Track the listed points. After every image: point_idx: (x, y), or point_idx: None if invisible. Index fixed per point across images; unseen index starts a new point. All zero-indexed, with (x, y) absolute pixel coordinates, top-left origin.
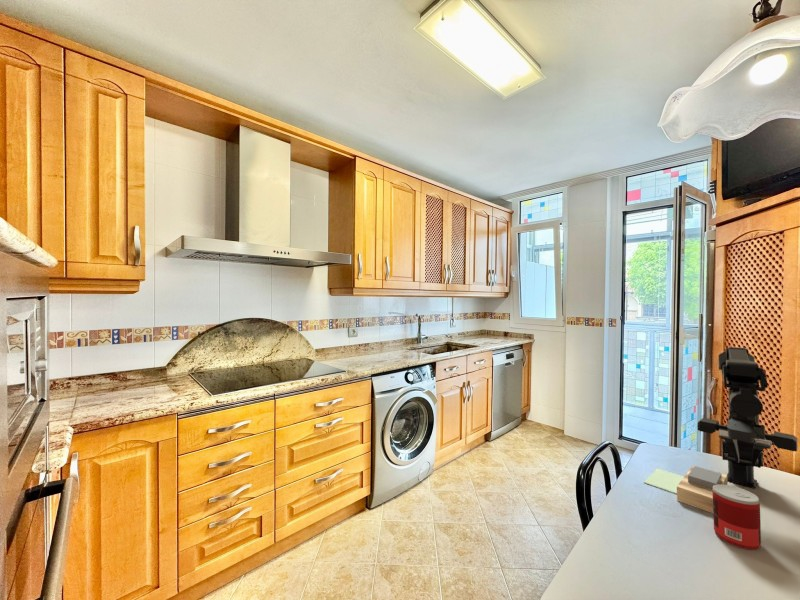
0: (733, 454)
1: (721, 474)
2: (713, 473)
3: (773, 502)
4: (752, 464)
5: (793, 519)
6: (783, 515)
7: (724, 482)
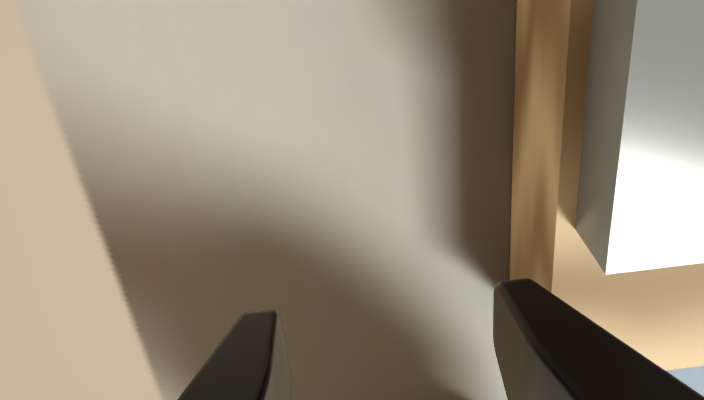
0: (665, 378)
1: (601, 265)
2: (680, 199)
3: None
4: (258, 330)
5: (72, 158)
6: (135, 167)
7: (546, 238)
